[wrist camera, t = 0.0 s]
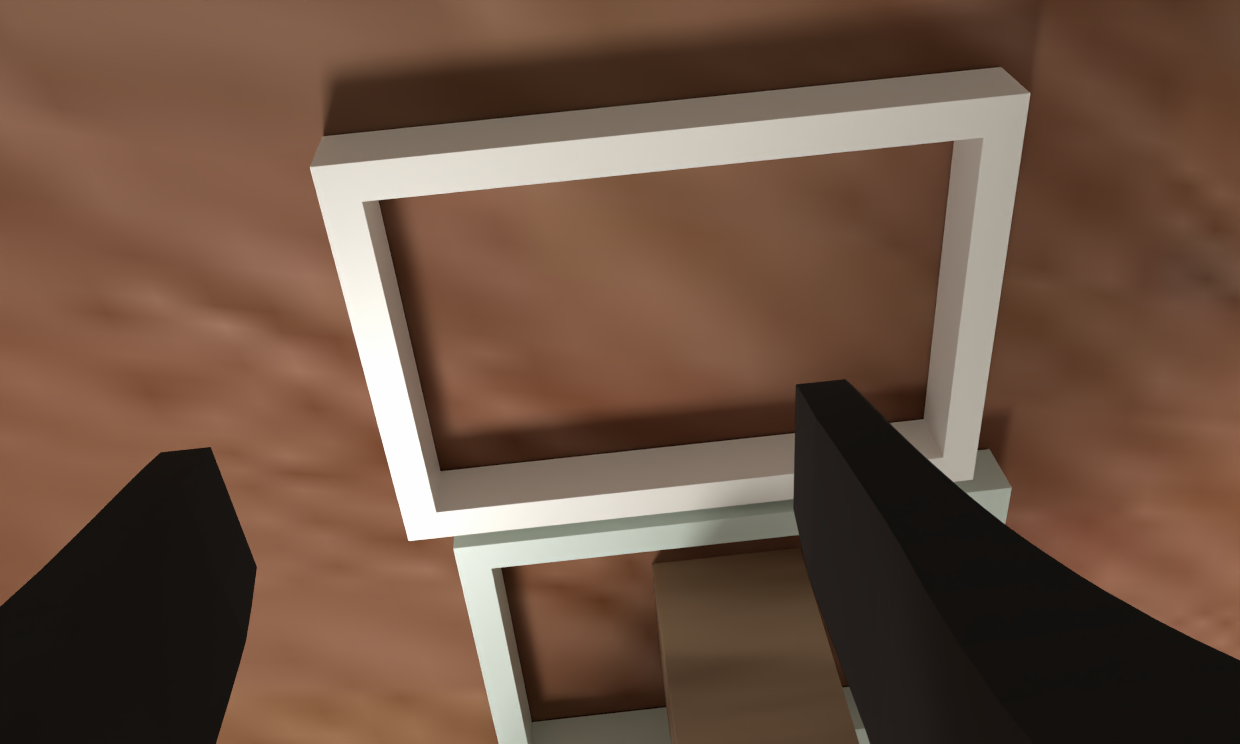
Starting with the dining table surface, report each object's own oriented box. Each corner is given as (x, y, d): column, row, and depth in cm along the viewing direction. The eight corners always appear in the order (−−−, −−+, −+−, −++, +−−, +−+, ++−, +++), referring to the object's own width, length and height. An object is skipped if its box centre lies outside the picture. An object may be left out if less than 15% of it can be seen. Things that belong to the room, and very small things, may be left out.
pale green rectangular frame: (951, 692, 32) (967, 733, 31) (509, 741, 32) (508, 785, 31) (989, 449, 27) (1011, 487, 26) (456, 506, 27) (453, 548, 25)
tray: (952, 441, 27) (972, 479, 25) (414, 499, 26) (408, 541, 25) (1001, 66, 21) (1030, 93, 20) (322, 136, 21) (310, 167, 20)
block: (797, 646, 31) (859, 877, 25) (660, 662, 31) (691, 897, 25) (799, 547, 28) (869, 776, 23) (652, 563, 28) (684, 797, 23)
